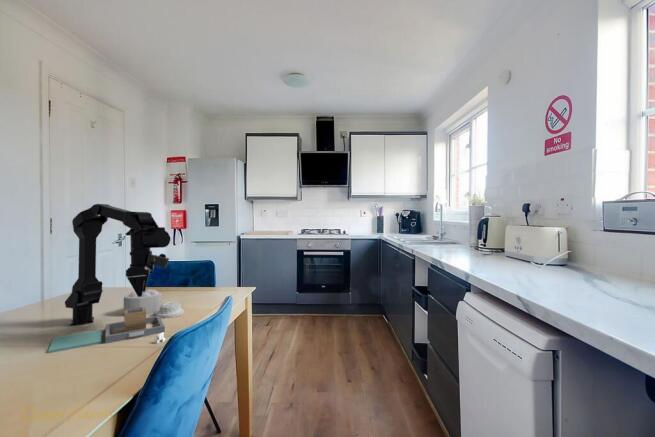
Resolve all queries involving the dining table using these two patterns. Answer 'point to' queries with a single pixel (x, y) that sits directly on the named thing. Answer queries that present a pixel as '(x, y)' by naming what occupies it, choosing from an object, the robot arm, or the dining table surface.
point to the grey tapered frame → (133, 333)
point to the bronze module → (134, 319)
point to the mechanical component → (170, 310)
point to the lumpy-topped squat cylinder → (144, 301)
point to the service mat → (75, 341)
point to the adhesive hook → (159, 338)
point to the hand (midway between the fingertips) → (141, 294)
